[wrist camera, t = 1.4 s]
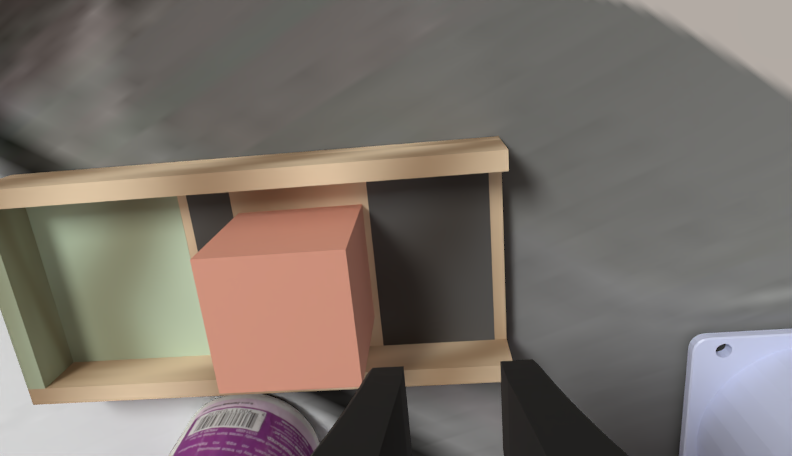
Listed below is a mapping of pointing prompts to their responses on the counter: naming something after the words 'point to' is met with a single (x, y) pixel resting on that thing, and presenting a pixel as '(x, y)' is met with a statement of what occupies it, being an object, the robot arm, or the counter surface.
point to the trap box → (208, 214)
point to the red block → (287, 299)
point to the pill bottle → (247, 429)
